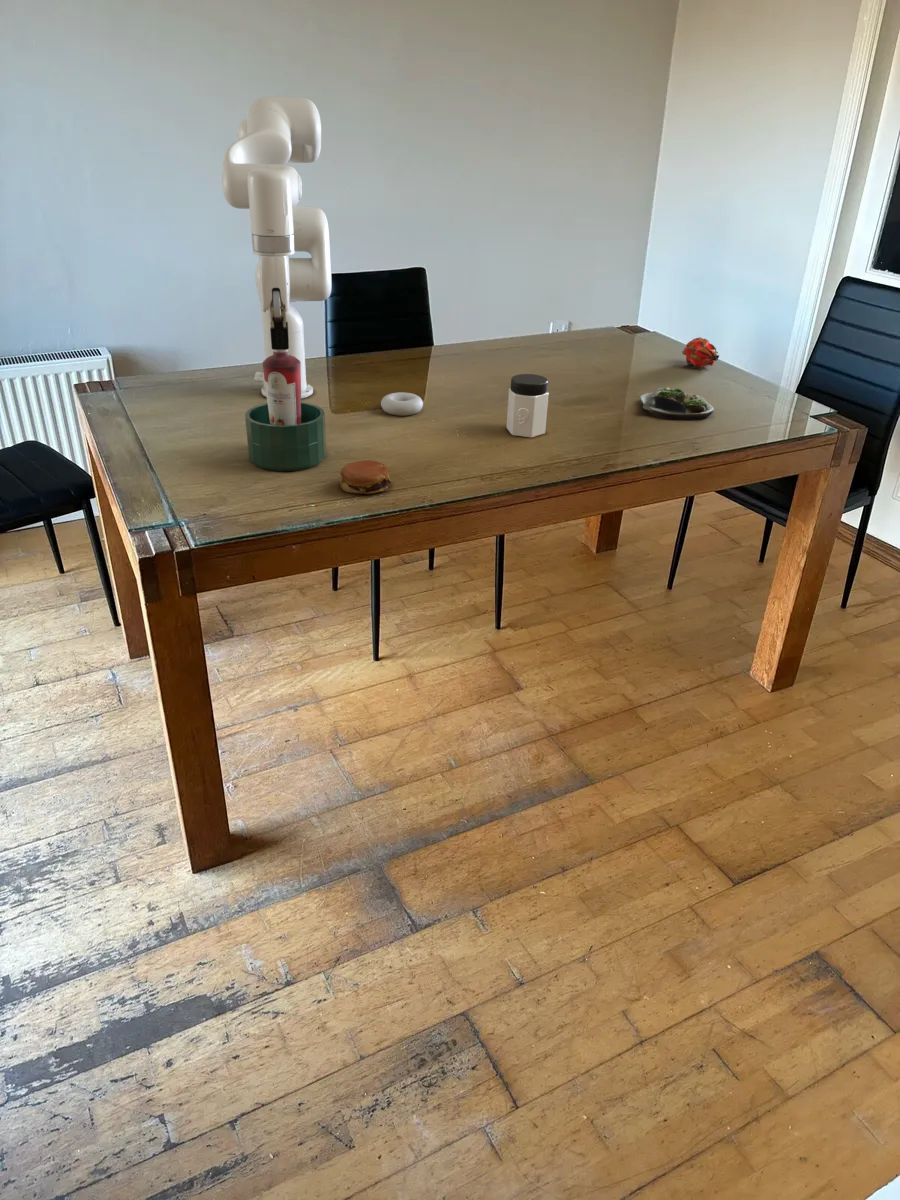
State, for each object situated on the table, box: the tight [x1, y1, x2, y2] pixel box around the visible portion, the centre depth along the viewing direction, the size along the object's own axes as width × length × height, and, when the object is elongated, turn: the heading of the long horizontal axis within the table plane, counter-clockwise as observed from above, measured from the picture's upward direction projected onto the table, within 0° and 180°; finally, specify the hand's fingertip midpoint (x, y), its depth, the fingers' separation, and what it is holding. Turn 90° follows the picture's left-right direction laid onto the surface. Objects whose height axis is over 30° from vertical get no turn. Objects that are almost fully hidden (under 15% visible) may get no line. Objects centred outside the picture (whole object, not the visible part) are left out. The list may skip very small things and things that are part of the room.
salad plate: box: [640, 386, 715, 421], centre depth 215 cm, size 19×18×5 cm
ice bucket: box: [244, 401, 327, 472], centre depth 177 cm, size 16×16×10 cm
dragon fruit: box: [681, 336, 720, 370], centre depth 248 cm, size 8×8×12 cm
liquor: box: [261, 314, 302, 425], centre depth 172 cm, size 7×7×28 cm
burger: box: [339, 459, 392, 495], centre depth 166 cm, size 10×9×5 cm
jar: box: [506, 373, 549, 439], centre depth 194 cm, size 9×8×12 cm
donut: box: [380, 391, 424, 417], centre depth 207 cm, size 10×4×10 cm
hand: (280, 345), depth 168 cm, fingers open, 3 cm apart
